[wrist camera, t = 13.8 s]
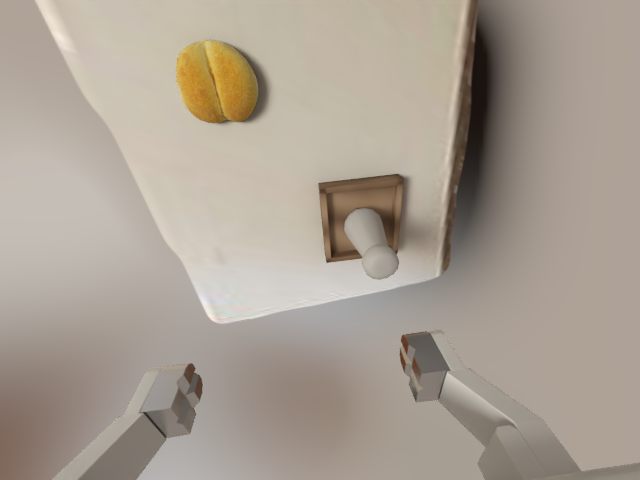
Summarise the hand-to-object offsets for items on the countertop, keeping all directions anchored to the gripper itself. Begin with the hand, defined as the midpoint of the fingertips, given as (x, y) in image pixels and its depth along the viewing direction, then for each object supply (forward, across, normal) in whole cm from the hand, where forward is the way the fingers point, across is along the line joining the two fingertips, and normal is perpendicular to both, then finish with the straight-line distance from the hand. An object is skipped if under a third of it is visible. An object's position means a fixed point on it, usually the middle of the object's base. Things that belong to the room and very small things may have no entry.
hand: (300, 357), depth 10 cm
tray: (+31, -9, +10) cm, 34 cm away
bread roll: (+32, +8, -10) cm, 34 cm away
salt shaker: (+30, -9, +10) cm, 33 cm away
